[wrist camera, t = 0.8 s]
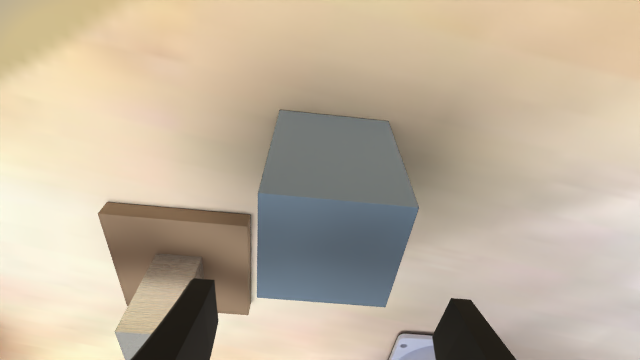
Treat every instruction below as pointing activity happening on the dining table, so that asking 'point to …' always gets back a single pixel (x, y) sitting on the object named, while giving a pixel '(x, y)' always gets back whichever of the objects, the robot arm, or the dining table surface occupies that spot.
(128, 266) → the board
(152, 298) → the post
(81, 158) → the dining table surface
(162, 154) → the dining table surface
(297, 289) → the blue-grey block
